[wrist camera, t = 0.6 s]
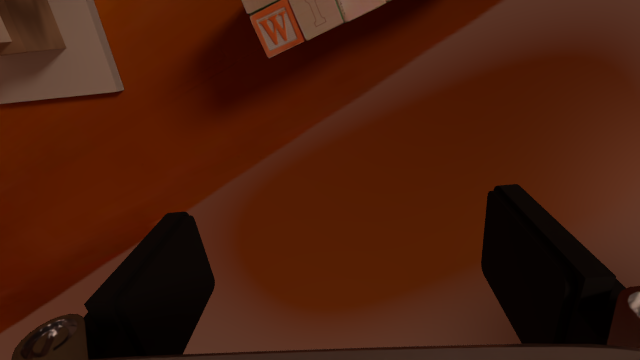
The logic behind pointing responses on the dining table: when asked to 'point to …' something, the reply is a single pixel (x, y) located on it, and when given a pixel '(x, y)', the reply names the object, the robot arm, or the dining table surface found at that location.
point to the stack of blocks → (301, 19)
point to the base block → (29, 27)
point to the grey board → (63, 60)
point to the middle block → (4, 33)
